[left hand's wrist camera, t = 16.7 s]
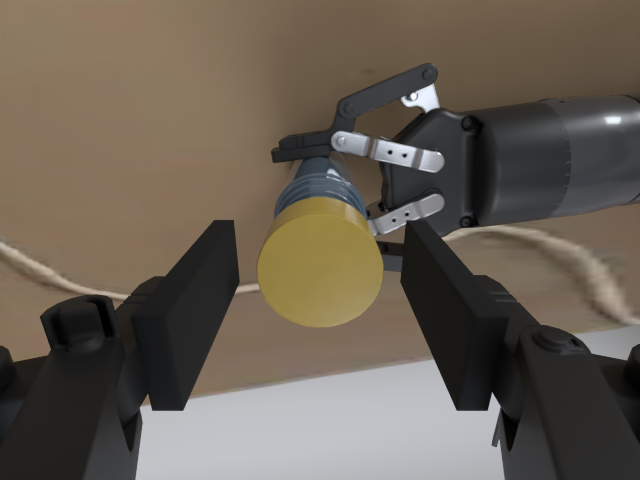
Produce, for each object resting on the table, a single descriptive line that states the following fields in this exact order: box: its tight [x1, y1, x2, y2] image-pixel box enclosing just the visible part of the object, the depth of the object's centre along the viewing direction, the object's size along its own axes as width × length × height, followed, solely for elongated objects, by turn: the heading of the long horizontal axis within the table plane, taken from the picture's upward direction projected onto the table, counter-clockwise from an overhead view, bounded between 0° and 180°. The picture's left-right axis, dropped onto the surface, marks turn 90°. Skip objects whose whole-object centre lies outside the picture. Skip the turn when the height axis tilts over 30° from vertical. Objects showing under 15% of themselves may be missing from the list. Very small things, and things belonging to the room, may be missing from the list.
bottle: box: [274, 151, 366, 220], centre depth 21 cm, size 5×5×18 cm
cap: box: [257, 197, 384, 328], centre depth 13 cm, size 4×4×2 cm
